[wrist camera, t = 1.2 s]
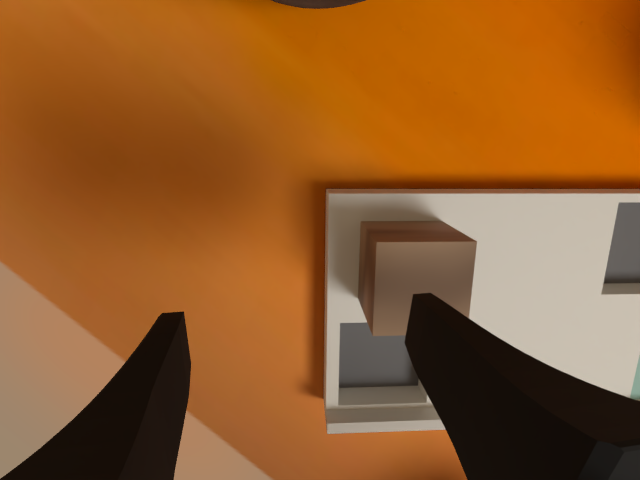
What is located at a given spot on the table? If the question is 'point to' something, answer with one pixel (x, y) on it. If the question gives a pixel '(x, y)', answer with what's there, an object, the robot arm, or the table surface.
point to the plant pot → (318, 3)
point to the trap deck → (490, 293)
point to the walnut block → (411, 270)
